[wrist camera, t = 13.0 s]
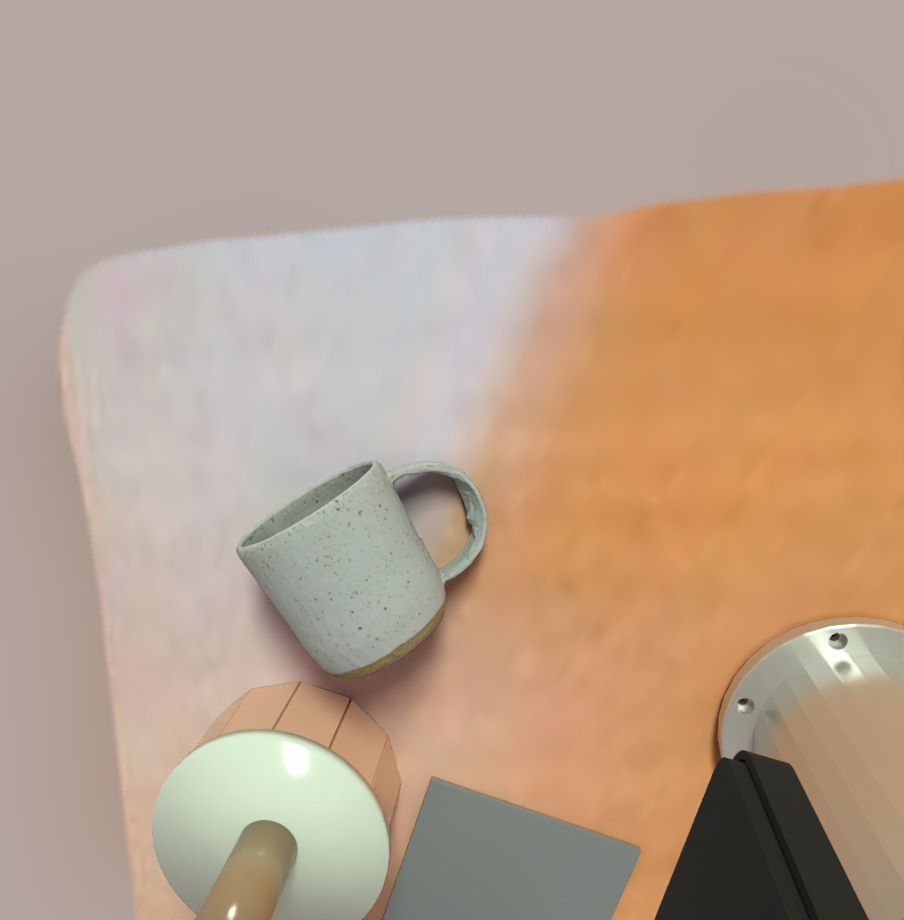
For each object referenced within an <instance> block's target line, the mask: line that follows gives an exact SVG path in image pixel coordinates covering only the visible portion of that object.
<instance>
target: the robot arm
mask: <svg viewBox="0 0 904 920" xmlns="http://www.w3.org/2000/svg"><path fill="white" fill-rule="evenodd" d="M836 633H837V634H836ZM833 634H836V635H835V636H834V637H831V636H832V635H833ZM743 698H745V699H744V700H742V701H740V700H741V699H743ZM717 738H718V744H719V750H720V756H721V759H720V760H719V762H718V763H717V765H716V767H715V769H714V772H713V774H712V777H711V779H710V782H709V784H708V787H707V789H706V792H705V794H704V797H703V799H702V802H701V804H700V807H699V809H698V812H697V814H696V817H695V819H694V822H693V824H692V827H691V829H690V832H689V834H688V837H687V839H686V842H685V844H684V847H683V849H682V852H681V854H680V857H679V859H678V862H677V864H676V867H675V869H674V872H673V874H672V877H671V879H670V882H669V884H668V887H667V889H666V892H665V894H664V897H663V899H662V902H661V904H660V907H659V909H658V912H657V914H656V917H655V920H904V626H903V625H900V624H897V623H894V622H891V621H888V620H881V619H874V618H867V617H836V618H831V619H826V620H821V621H816V622H811V623H808V624H806V625H803V626H800V627H798V628H795V629H792V630H790V631H787V632H785V633H784V634H782V635H780V636H779V637H777V638H775V639H774V640H772V641H770V642H768V643H767V644H765V645H764V646H763V647H762V648H761V649H760V650H758V651H757V652H756V653H755V654H754V655H753V656H752V657H750V658H749V659H748V660H747V661H746V663H745V664H744V665H743V667H742V668H741V669H740V670H739V672H738V673H737V674H736V675H735V677H734V678H733V680H732V682H731V684H730V686H729V688H728V690H727V692H726V694H725V696H724V698H723V702H722V706H721V710H720V713H719V717H718V736H717Z"/></svg>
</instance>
